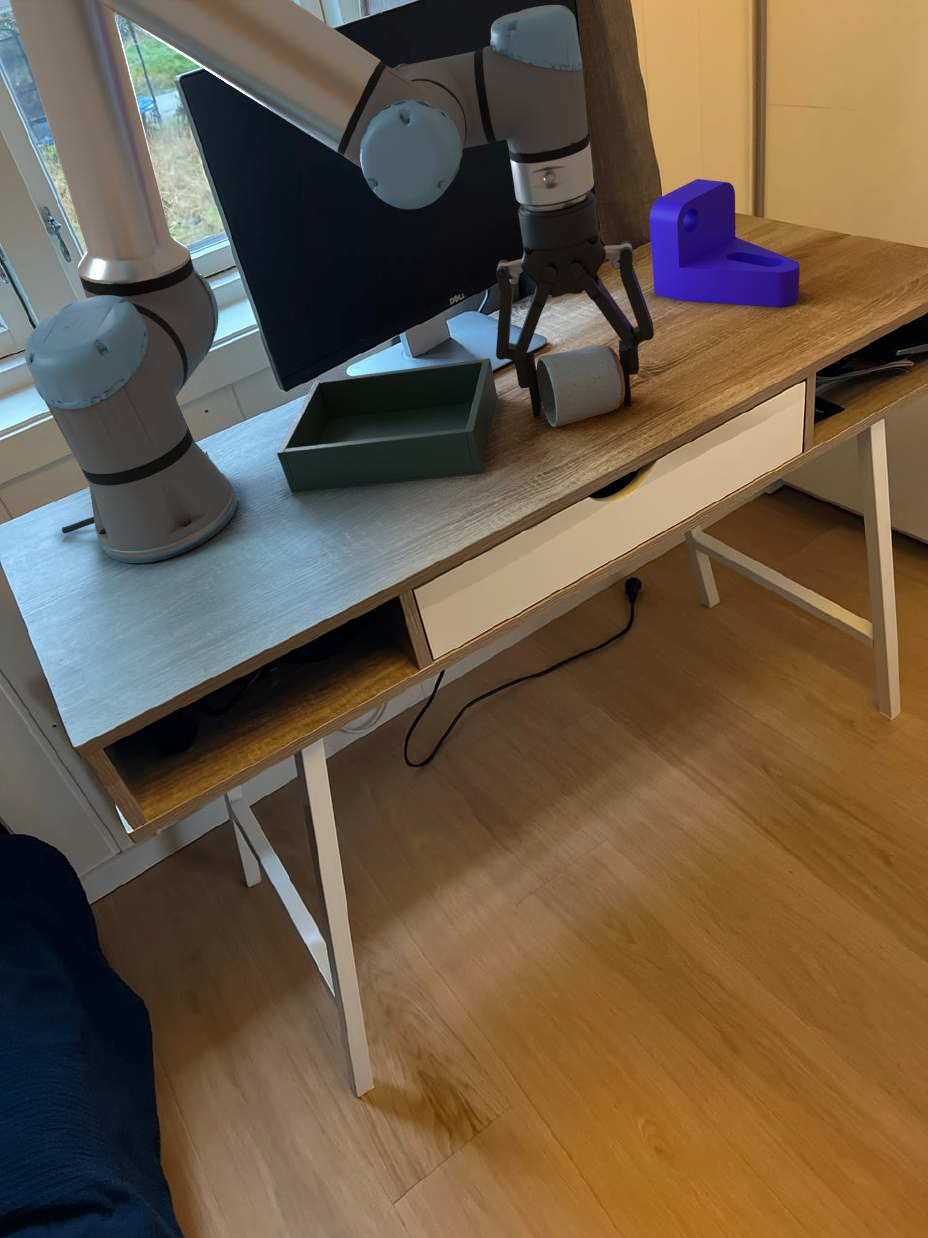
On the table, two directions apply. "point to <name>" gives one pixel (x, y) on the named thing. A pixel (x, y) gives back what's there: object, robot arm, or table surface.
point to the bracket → (714, 252)
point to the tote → (391, 427)
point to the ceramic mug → (580, 384)
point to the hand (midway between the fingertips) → (582, 405)
